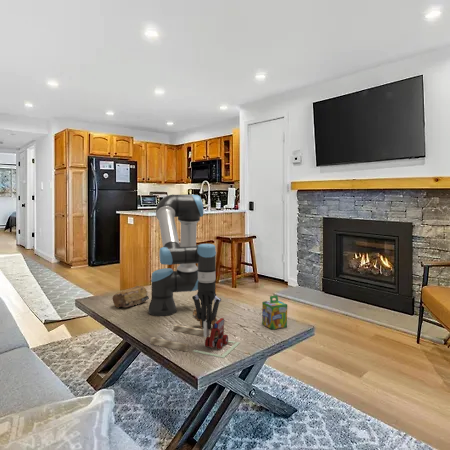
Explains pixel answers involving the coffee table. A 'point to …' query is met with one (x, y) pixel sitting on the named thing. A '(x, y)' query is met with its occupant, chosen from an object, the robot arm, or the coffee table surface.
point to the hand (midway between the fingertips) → (206, 335)
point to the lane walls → (176, 344)
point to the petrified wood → (130, 297)
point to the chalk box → (274, 313)
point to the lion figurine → (200, 319)
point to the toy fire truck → (217, 335)
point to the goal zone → (217, 354)
